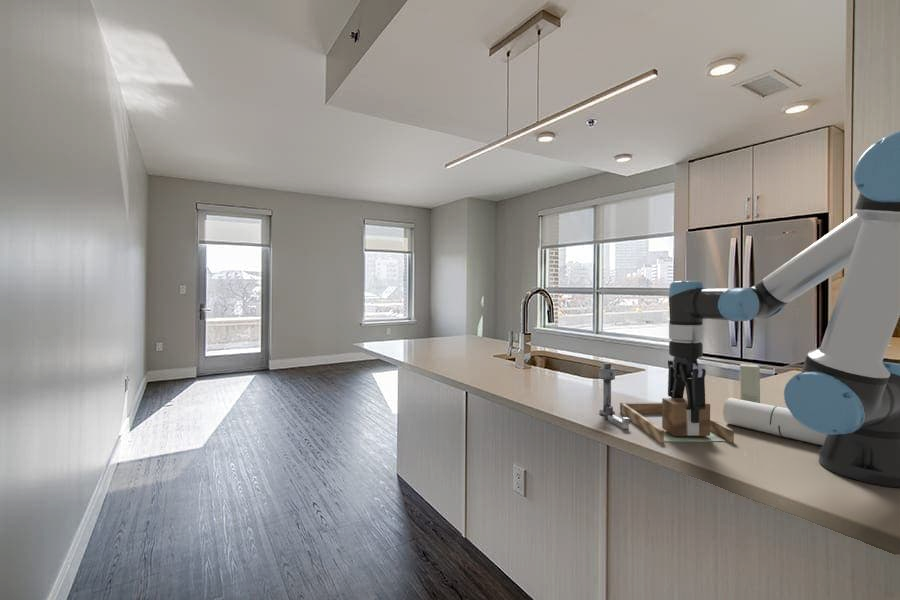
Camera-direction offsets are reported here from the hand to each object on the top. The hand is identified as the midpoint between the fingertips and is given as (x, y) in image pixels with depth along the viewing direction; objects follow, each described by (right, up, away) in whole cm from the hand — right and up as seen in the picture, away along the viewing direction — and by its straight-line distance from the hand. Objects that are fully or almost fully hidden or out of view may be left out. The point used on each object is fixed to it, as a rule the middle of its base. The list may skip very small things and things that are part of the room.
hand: (685, 430), depth 109 cm
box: (+35, 0, +27) cm, 44 cm away
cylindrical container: (+17, +3, +9) cm, 19 cm away
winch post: (-13, -1, +18) cm, 23 cm away
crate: (0, 0, 0) cm, 0 cm away
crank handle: (-14, -1, +9) cm, 17 cm away
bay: (0, -1, +7) cm, 7 cm away
